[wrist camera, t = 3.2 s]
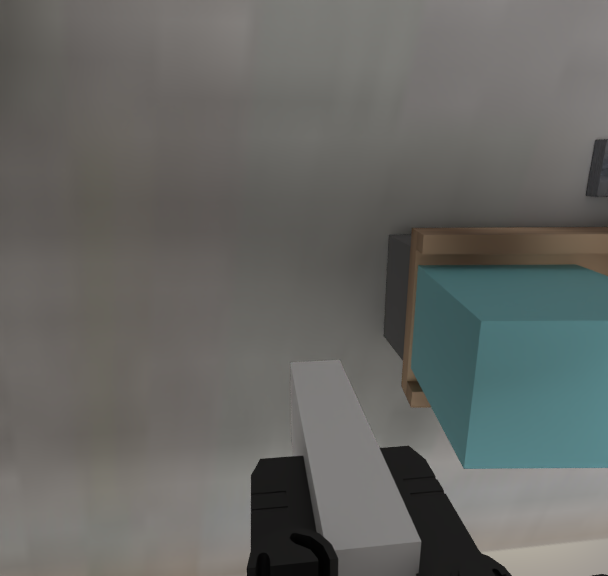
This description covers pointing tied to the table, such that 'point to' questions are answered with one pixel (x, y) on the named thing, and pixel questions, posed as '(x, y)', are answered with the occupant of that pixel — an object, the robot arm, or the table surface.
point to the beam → (494, 263)
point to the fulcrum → (599, 170)
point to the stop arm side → (397, 291)
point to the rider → (515, 362)
